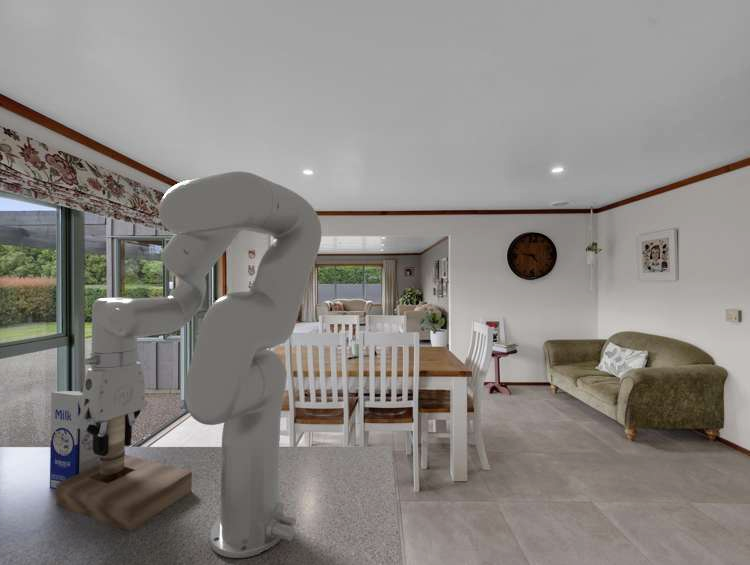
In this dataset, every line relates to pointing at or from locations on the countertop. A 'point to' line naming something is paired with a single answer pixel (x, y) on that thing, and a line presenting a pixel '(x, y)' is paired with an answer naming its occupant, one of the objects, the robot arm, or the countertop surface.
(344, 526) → the countertop surface
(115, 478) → the walnut board
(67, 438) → the milk carton
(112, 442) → the maple peg
